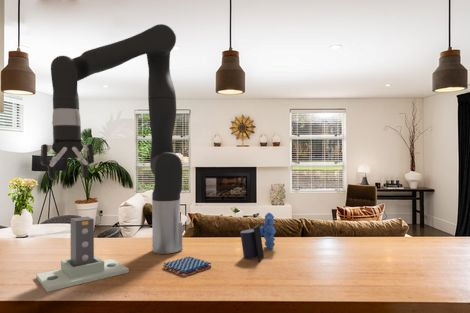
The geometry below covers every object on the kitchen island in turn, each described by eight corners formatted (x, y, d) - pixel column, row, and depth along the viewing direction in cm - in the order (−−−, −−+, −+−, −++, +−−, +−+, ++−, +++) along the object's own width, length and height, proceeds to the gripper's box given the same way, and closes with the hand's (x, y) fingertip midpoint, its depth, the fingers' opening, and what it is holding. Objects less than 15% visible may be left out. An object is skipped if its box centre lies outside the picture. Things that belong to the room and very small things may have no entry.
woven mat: (189, 261, 103) (189, 254, 103) (213, 269, 96) (213, 262, 96) (160, 270, 95) (160, 262, 95) (184, 279, 88) (184, 271, 88)
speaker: (270, 257, 104) (266, 223, 105) (259, 262, 100) (255, 227, 100) (250, 255, 109) (247, 223, 109) (240, 260, 105) (236, 227, 105)
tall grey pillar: (87, 266, 94) (87, 216, 94) (94, 270, 90) (93, 219, 90) (70, 269, 91) (70, 218, 91) (76, 274, 87) (76, 221, 87)
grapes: (257, 243, 122) (257, 210, 122) (275, 243, 122) (275, 210, 122) (257, 252, 110) (256, 216, 110) (277, 252, 110) (277, 216, 110)
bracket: (112, 262, 101) (112, 250, 101) (128, 272, 92) (128, 259, 92) (36, 278, 88) (36, 264, 88) (46, 291, 78) (46, 277, 79)
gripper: (42, 123, 93) (44, 181, 93) (95, 124, 102) (97, 177, 102) (37, 125, 99) (39, 180, 99) (87, 126, 108) (89, 176, 108)
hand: (68, 178), depth 101 cm, fingers open, 8 cm apart
